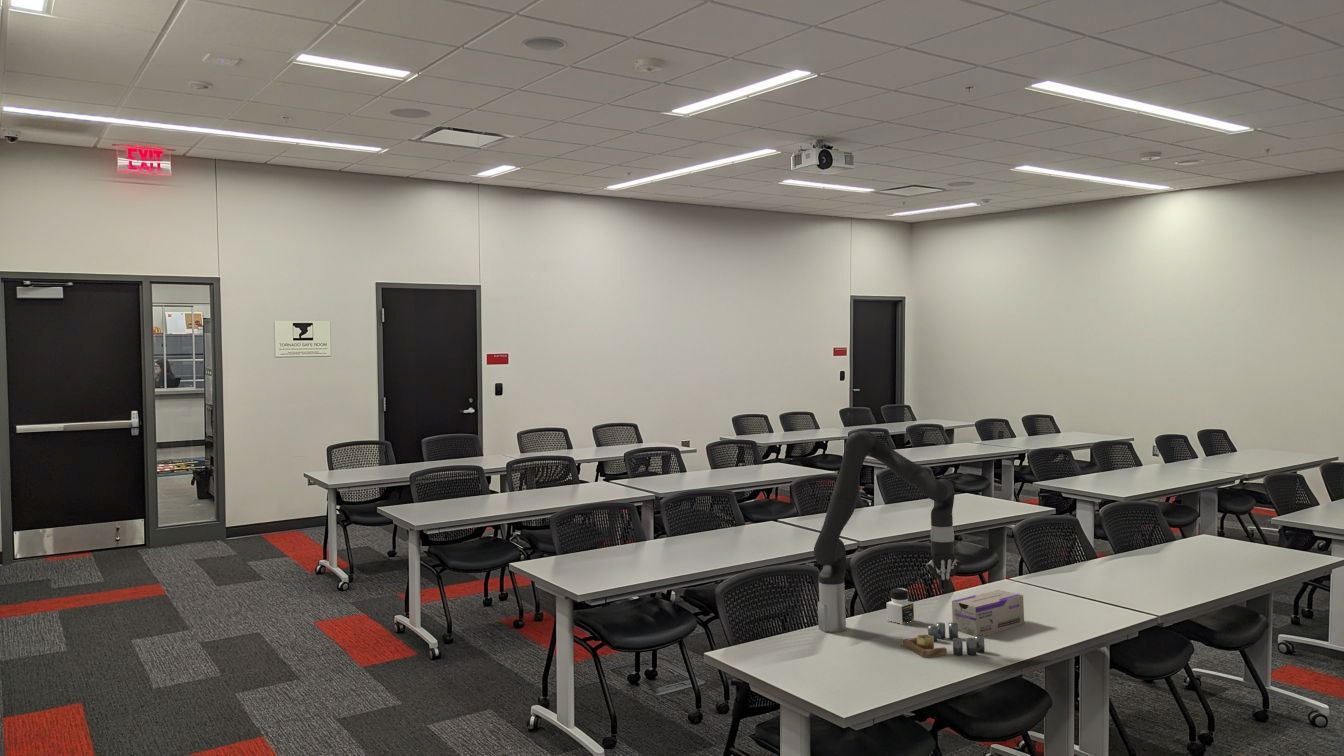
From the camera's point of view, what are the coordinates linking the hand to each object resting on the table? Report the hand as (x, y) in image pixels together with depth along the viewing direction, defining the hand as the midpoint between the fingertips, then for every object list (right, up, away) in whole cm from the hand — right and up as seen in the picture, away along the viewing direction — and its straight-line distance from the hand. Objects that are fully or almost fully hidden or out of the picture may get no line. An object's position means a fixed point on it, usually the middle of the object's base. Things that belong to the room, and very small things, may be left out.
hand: (944, 590), depth 297 cm
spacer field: (+4, -19, 0) cm, 19 cm away
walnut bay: (-7, -19, -2) cm, 21 cm away
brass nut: (-7, -20, -3) cm, 21 cm away
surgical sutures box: (+22, -19, +20) cm, 35 cm away
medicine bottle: (-6, -20, +32) cm, 38 cm away
